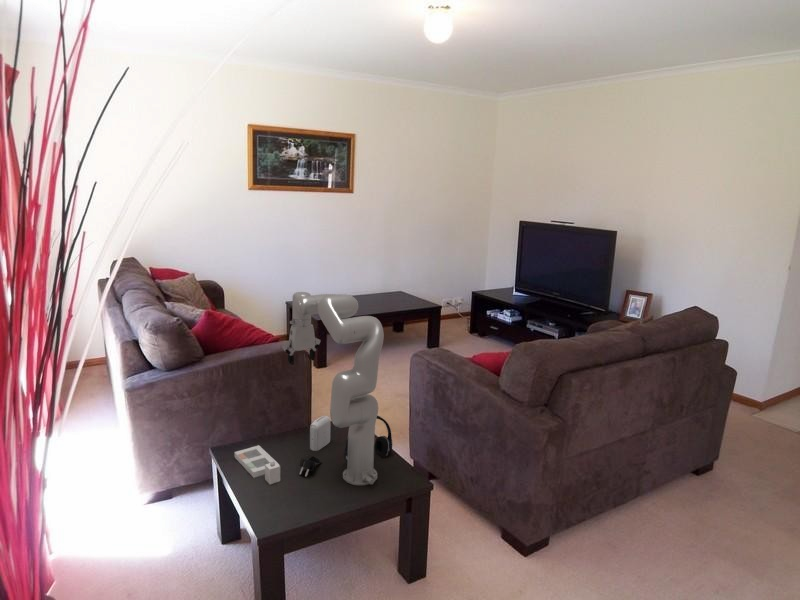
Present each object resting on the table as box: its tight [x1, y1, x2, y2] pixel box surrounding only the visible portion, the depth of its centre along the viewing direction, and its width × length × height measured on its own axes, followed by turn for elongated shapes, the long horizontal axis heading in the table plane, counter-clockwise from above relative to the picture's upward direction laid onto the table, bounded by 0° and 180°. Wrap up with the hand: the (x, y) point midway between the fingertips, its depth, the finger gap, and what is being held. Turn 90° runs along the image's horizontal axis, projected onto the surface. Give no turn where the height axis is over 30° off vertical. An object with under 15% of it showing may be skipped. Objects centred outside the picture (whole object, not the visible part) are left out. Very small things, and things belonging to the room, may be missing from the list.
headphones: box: [343, 415, 393, 464], centre depth 209 cm, size 20×7×18 cm, turn 126°
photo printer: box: [309, 415, 331, 452], centre depth 219 cm, size 10×4×12 cm, turn 152°
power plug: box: [297, 454, 323, 477], centre depth 201 cm, size 6×8×12 cm
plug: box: [264, 461, 281, 485], centre depth 194 cm, size 4×4×7 cm
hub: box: [234, 444, 280, 479], centre depth 205 cm, size 18×10×3 cm, turn 38°
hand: (301, 361), depth 226 cm, fingers open, 9 cm apart
